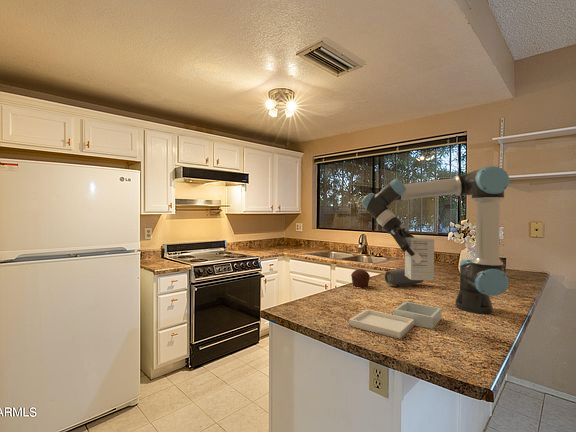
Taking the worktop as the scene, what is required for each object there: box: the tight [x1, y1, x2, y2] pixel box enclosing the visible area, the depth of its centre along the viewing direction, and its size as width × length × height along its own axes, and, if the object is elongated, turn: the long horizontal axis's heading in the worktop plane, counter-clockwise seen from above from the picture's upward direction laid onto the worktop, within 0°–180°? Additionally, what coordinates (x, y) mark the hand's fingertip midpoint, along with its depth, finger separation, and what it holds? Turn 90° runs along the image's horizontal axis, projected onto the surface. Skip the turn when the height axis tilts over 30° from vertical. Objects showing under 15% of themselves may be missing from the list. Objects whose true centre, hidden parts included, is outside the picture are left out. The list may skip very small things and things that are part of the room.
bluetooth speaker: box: [384, 268, 425, 287], centre depth 189 cm, size 23×9×10 cm, turn 105°
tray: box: [348, 308, 415, 340], centre depth 121 cm, size 20×17×2 cm
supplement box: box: [404, 237, 435, 281], centre depth 128 cm, size 10×9×17 cm
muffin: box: [350, 268, 371, 289], centre depth 186 cm, size 12×11×10 cm
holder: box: [393, 301, 443, 330], centre depth 129 cm, size 15×15×4 cm
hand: (424, 259), depth 127 cm, fingers closed on supplement box, 12 cm apart
